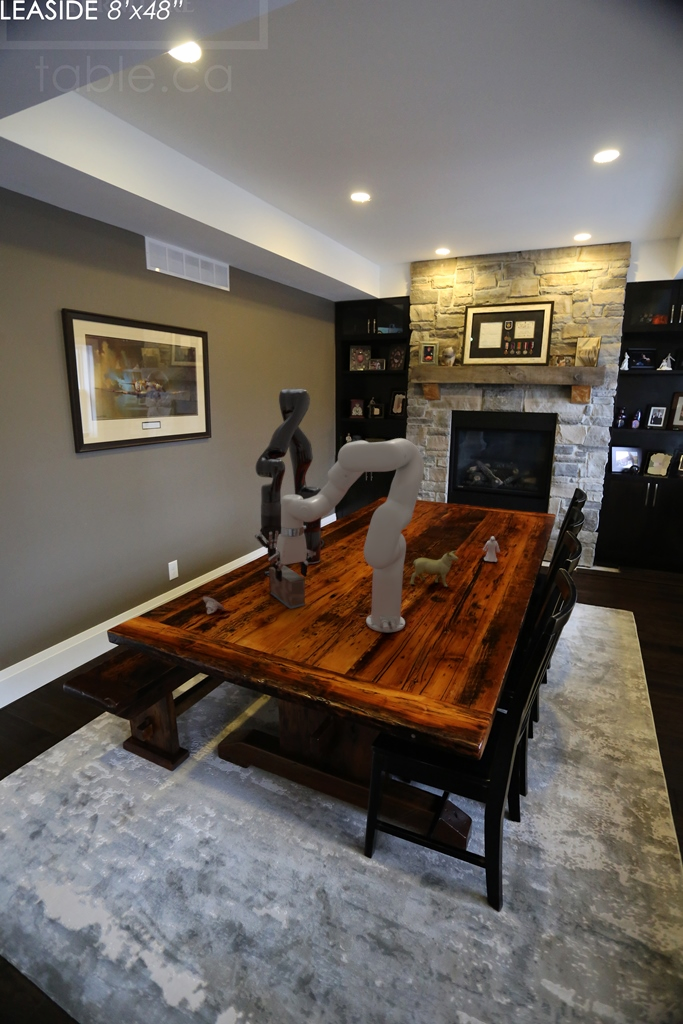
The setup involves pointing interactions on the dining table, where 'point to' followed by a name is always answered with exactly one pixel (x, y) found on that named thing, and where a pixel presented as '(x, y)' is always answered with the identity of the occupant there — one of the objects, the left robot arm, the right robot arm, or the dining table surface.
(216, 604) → the seashell
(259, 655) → the dining table surface
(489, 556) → the figurine
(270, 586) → the drawer
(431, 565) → the toy
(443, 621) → the dining table surface
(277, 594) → the cabinet
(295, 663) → the dining table surface
